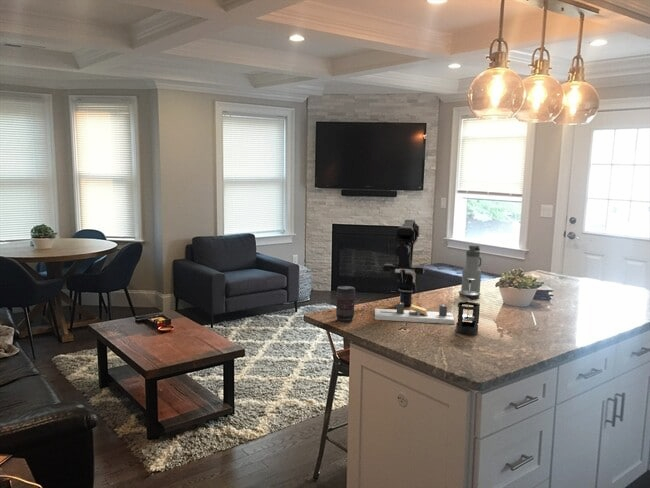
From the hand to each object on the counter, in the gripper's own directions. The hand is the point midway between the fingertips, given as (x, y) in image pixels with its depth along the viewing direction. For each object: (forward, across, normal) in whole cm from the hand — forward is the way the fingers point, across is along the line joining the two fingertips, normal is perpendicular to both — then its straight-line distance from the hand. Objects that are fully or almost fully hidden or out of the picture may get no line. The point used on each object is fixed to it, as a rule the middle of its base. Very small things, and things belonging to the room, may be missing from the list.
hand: (402, 286), depth 255 cm
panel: (+12, -6, +7) cm, 16 cm away
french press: (+12, -30, +20) cm, 38 cm away
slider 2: (+10, -19, +5) cm, 22 cm away
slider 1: (+10, 0, +8) cm, 13 cm away
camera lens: (+12, +22, +22) cm, 34 cm away
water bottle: (+14, -31, -50) cm, 60 cm away
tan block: (+8, -8, +6) cm, 13 cm away
